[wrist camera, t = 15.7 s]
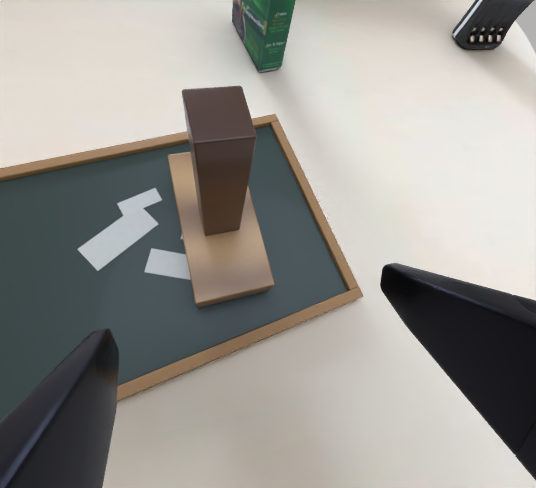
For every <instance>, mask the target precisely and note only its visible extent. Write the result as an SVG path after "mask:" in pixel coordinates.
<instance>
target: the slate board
mask: <svg viewBox="0 0 536 488" xmlns="http://www.w3.org/2000/svg"><path fill="white" fill-rule="evenodd" d="M252 123H253V126H254V129H255V132H256V136H257V138H256V143H255V149H254V154H253V160H252V165H251V170H250V176H249V181H248V187H249V191H250V195H251V198H252V202H253V206H254V209H255V213H256V217H257V220H258V224H259V227H260V231H261V235H262V238H263V242H264V246H265V249H266V253H267V257H268V260H269V264H270V268H271V271H272V275H273V279H274V282H275V285H274V286H273V287H272V288H271V289H270V290H269V291H268V292H265V293H260V294H256V295H252V296H248V297H244V298H240V299H236V300H232V301H228V302H224V303H219V304H215V305H211V306H207V307H203V308H198V307H197V305H196V303H195V299H194V294H193V289H192V283H191V278H190V273H189V267H188V262H187V257H186V251H185V246H184V241H183V236H182V230H181V225H180V220H179V214H178V209H177V204H176V198H175V193H174V188H173V182H172V177H171V172H170V166H169V161H168V155H170V154H178V153H187V152H190V145H189V138H188V131H187V132H182V133H177V134H172V135H167V136H162V137H157V138H152V139H147V140H142V141H137V142H132V143H127V144H121V145H116V146H111V147H106V148H101V149H96V150H91V151H86V152H81V153H76V154H71V155H66V156H61V157H56V158H51V159H46V160H41V161H35V162H30V163H25V164H20V165H15V166H10V167H5V168H0V421H1V420H2V419H3V418H4V417H5V416H6V415H7V414H8V413H9V412H10V411H11V410H12V409H13V408H14V407H15V406H16V405H17V404H18V403H19V402H20V401H21V400H23V399H24V398H25V397H26V396H27V395H28V394H29V393H30V392H31V391H32V390H33V389H34V388H35V387H36V386H37V385H38V384H39V383H40V382H41V381H42V380H43V379H44V378H45V377H46V376H47V375H48V374H49V373H50V372H51V371H52V370H53V369H54V368H55V367H56V366H57V365H58V364H60V363H61V362H62V361H63V360H64V359H65V358H66V357H67V356H68V355H69V354H70V353H71V352H72V351H73V350H74V349H75V348H76V347H77V346H78V345H79V344H80V343H81V342H82V341H83V340H84V339H85V338H86V337H87V336H88V335H89V334H90V333H92V332H93V331H96V330H101V329H105V328H108V329H110V330H111V332H112V334H113V337H114V339H115V342H116V344H117V347H118V350H119V372H118V389H117V401H119V400H121V399H124V398H126V397H128V396H131V395H133V394H135V393H138V392H140V391H143V390H145V389H147V388H150V387H152V386H154V385H157V384H159V383H161V382H164V381H166V380H168V379H171V378H173V377H175V376H178V375H180V374H182V373H185V372H187V371H190V370H192V369H194V368H197V367H199V366H201V365H204V364H206V363H208V362H211V361H213V360H215V359H218V358H220V357H222V356H225V355H227V354H229V353H232V352H234V351H236V350H239V349H241V348H244V347H246V346H248V345H251V344H253V343H255V342H258V341H260V340H262V339H265V338H267V337H269V336H272V335H274V334H276V333H279V332H281V331H283V330H286V329H288V328H290V327H293V326H295V325H298V324H300V323H302V322H305V321H307V320H309V319H312V318H314V317H316V316H319V315H321V314H323V313H326V312H328V311H330V310H333V309H335V308H337V307H340V306H342V305H345V304H347V303H349V302H352V301H354V300H356V299H359V298H361V297H363V294H362V292H361V290H360V288H359V287H358V284H357V282H356V280H355V278H354V276H353V274H352V272H351V270H350V268H349V265H348V263H347V261H346V259H345V257H344V255H343V253H342V251H341V249H340V247H339V245H338V243H337V241H336V239H335V237H334V234H333V232H332V230H331V228H330V226H329V224H328V222H327V220H326V218H325V216H324V214H323V212H322V210H321V208H320V205H319V203H318V201H317V199H316V197H315V195H314V193H313V191H312V189H311V187H310V185H309V183H308V181H307V179H306V176H305V174H304V172H303V170H302V168H301V166H300V164H299V162H298V160H297V158H296V156H295V154H294V152H293V150H292V148H291V145H290V143H289V141H288V139H287V137H286V135H285V133H284V131H283V129H282V127H281V125H280V123H279V121H278V119H277V117H276V115H275V114H273V115H268V116H263V117H258V118H253V119H252Z"/></svg>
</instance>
